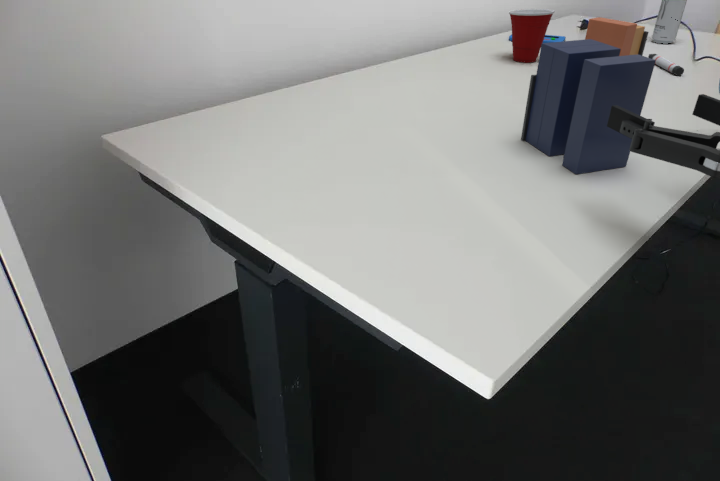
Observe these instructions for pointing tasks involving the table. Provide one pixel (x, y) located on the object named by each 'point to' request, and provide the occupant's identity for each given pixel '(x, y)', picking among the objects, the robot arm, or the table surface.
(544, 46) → the navy books
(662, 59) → the marker
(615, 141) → the navy book
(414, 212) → the table surface
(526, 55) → the plastic cup
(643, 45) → the terracotta books
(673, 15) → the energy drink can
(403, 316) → the table surface
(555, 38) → the handheld gaming device
